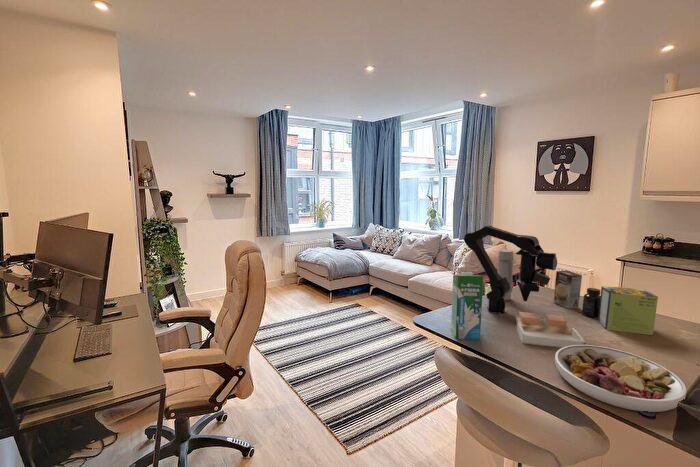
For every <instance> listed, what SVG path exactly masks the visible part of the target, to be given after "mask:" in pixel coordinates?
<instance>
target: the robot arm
mask: <svg viewBox="0 0 700 467" xmlns="http://www.w3.org/2000/svg"><path fill="white" fill-rule="evenodd" d="M488 236H489V237H493V238H496V239H499V240H501V241H505V242H507V243H511V244H513V245H515V246H516V247H517V248H519V250H518V251H516V252H515V255H518V256H520V264H519V265H520V266H519V267H518V269H519V272H517V273H516V274H515V278H514V279H515V281H518V280H519V282H517V285H518V288H519V291H520V294H521V297H522V300H523V302H527V301H528V299H529V296H530V294H531V292H535V293H538V292H540V286H539V285H538V284H537V283H541V284H543V285H544V286H547V285H548V284H549V282H550V280H551V278H550V276H549V275H546V271H543V270H541V269H544V270H545V269H546V270H550V271H555V270H556V269H557V267H558V258H557V253H555V252H554V253H553V252H545V251H544V249H543V248H542V246H541V245H540V241H539V239H538V237H536V236H533V235H528V234H527V235H526V234H516V233H513V232H510V231H508V230H507V231H506V230H504V229H501V228H499V227H496V226H495V227H494V226H492V225H487V226H486V225H485V226H483V227H482V228H481V229H477V230H476V231H472V232H467V233H466V234H465V235H464V237H463V242H464V243H465V244H466V246H467V247H468V248H469V249H470V250H471V251H473V253H474V254H475V256H476V257H477V259H478V261H479V263H480V265H481V266H482V269H483V271H484V273H485V274H486V276H487V278H488V279H489V288H490V289H491V290H490V291H488V293H486V299H488V301H487V311H488V313H493V314H494V313H495V314H505V313H504V312H505V311H506V301H504V298H503V297H505V296H506V294H508V293H509V292H510V286H509V285H510V284H509V283H508V281H507V278H506V277H504V278H502V277H501V276H500V275H499V274H498V272H497V268H496V267H495V266H494V263H493V261H492V260H491V258H490V255H488V252H487V251H486V249H485V247H484V246H485V245H484V240H483V239H484V238H487V237H488ZM536 267H538V268H539V269H540V270H539V271H538V270H537V269H536Z"/></svg>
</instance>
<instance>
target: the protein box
mask: <svg viewBox="0 0 700 467" xmlns="http://www.w3.org/2000/svg"><path fill="white" fill-rule="evenodd" d="M600 288H601V289H600V296H601V297H600V307H599V316H598V318H597V321H598V322H599V323H600V325H602V326H603V328H604V329H605V330H607V331H613V332H614V331H615V332H622V333H632V334H639V335H648V336H649V335H650V336H653V335H654V330H655V322H656V315H657V307H658V300H659V299H658V298H659V296H657V295H656V294H654V293H652V292H650V291H649V290H647V289H646V288H635V287H634V288H633V287H624V286H623V287H620V286H606V285H601V287H600Z"/></svg>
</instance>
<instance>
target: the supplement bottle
mask: <svg viewBox="0 0 700 467" xmlns="http://www.w3.org/2000/svg"><path fill="white" fill-rule="evenodd" d="M600 297H601V289H599V288H595V287H587V289H586V293H585V294H584V295H583V301H582V310H581V312H582V315H583V316H586V317H587V318H593V319H596V318H597V319H598V316H599V307H600Z"/></svg>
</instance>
